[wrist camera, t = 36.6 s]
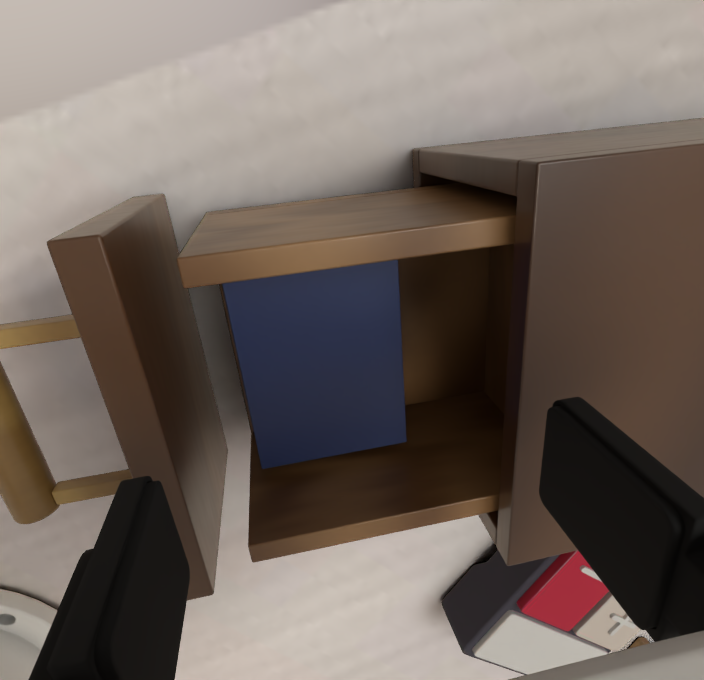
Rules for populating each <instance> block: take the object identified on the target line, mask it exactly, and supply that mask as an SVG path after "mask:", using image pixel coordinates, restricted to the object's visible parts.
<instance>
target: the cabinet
mask: <svg viewBox="0 0 704 680" xmlns="http://www.w3.org/2000/svg"><path fill="white" fill-rule="evenodd" d="M412 152H413V185H414V188H417V187H426V186H435V185H443V184H452V183H464V184H468V185H472V186H476V187H480V188H484V189H488V190H492V191H496V192H500V193H504V194H508V195H512V196H516V197H517V208H516V225H515V241H514V258H513V275H512V292H511V309H510V325H509V342H508V359H507V376H506V393H505V409H504V426H503V443H502V460H501V476H500V493H499V510H498V511H493V512H488V513H484V514H479V517H480V519H481V520H482V522H483V524H484V526H485V527H486V529H487V531H488V533H489V534H490V536H491V538H492V540H493V541H494V543H495V544H496V547H497V549H498V551H499V552H500V554H501V556H502V558H503V559H504V561H505V563H506V565H507V566H511V565H516V564H520V563H525V562H529V561H533V560H538V559H542V558H546V557H551V556H555V555H559V554H564V553H568V552H572V551H577V550H578V549H577V548H576V547H575V546H574V544H573V543H572V542H571V540H570V539H569V538H568V536H567V535H566V534H565V532H564V531H563V530H562V529H561V527H560V526H559V525H558V523H557V522H556V521H555V519H554V518H553V517H552V515H551V514H550V513H549V512H548V510H547V509H546V508H545V506H544V505H543V503H542V501H541V498H540V495H539V485H540V475H541V466H542V456H543V447H544V437H545V428H546V418H547V411H548V409H549V408H551V407H552V406H553V403H554V402H555V401H557V400H561V399H567V398H572V397H581V398H582V399H584V400H585V401H586V402H588V403H589V404H590V405H591V406H592V407H594V408H595V409H596V410H597V411H599V412H600V413H601V414H602V415H603V416H605V417H606V418H607V419H608V420H609V421H611V422H612V423H613V424H614V425H616V426H617V427H618V428H619V429H620V430H622V431H623V432H624V433H625V434H626V435H628V436H629V437H630V438H631V439H633V440H634V441H635V442H636V443H637V444H639V445H640V446H641V447H642V448H643V449H645V450H646V451H647V452H648V453H650V454H651V455H652V456H653V457H654V458H656V459H657V460H658V461H659V462H661V463H662V464H663V465H664V466H665V467H667V468H668V469H669V470H670V471H671V472H673V473H674V474H675V475H676V476H678V477H679V478H680V479H681V480H682V481H684V482H685V483H686V484H687V485H688V486H690V487H691V488H692V489H693V490H695V491H696V492H697V493H698V494H699V495H701V496H702V497H703V498H704V118H698V119H689V120H679V121H670V122H660V123H651V124H641V125H632V126H622V127H613V128H603V129H594V130H584V131H575V132H565V133H556V134H547V135H537V136H528V137H518V138H509V139H499V140H490V141H480V142H471V143H461V144H452V145H442V146H433V147H423V148H414V149H413V151H412Z"/></svg>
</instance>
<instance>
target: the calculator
mask: <svg viewBox="0 0 704 680" xmlns="http://www.w3.org/2000/svg"><path fill="white" fill-rule="evenodd" d="M442 606H443V609H444V611H445V613H446V616H447V618H448V620H449V622H450V625H451V627H452V629H453V632H454V634H455V636H456V638H457V641H458V643H459V645H460V647H461V650H462V652H463V653H464V654H466V655H469V656H471V657H474V658H477V659H480V660H483V661H486V662H489V663H492V664H495V665H498V666H500V667H503V668H506V669H509V670H512V671H515V672H518V673H521V674H524V675H528V674H532V673H536V672H540V671H544V670H547V669H551V668H555V667H559V666H563V665H567V664H571V663H575V662H579V661H583V660H586V659H590V658H594V657H598V656H602V655H606V654H609V652H610V651H611V650H612V651H615V652H617V651H619V650H621V649H622V648H623V647H624V646H625V645H626V644H627V643H628V642H629V641H630V640H631V639H632V638H633V637H634V636H635V635H636V634H637V633H638V632H639V631H640V630H641V629H640V628H638V627H637V626H636V625H635V624H634V623H633V622H632V620H631V619H630V618H629V616H628V615H627V614H626V612H625V611H624V610H623V608H622V607H621V606H620V605H619V603H618V602H617V601H616V599H615V598H614V597H613V595H612V594H611V593H610V591H609V590H608V589H607V587H606V586H605V585H604V584H603V582H602V581H601V580H600V578H599V577H598V576H597V574H596V573H595V572H594V570H593V569H592V568H591V567H590V565H589V564H588V563H587V561H586V560H585V559H584V557H583V556H582V555H581V553H580V552H579V551H578V550H577V551H572V552H568V553H564V554H559V555H555V556H551V557H546V558H542V559H538V560H533V561H529V562H525V563H520V564H516V565H511V566H507V565H506V563H505V561H504V559H503V558H502V556H501V554H500V552H499V551H498V550H497V551H496V552H495V553H494V555H493V556H492V557H491V558H490V559H489V560H488V561H487V562H484V563H480V564H475V565H473V566H472V567H471V568H470V569H469V571H468V572H467V573H466V574H465V575H464V576H463V577H462V578H461V579H460V581H459V582H458V583H457V584H456V585H455V586H454V587H453V588H452V590H451V591H450V592H449V593H448V594H447V595H446V596H445V597H444V599H443V600H442Z"/></svg>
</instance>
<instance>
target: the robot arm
mask: <svg viewBox="0 0 704 680" xmlns="http://www.w3.org/2000/svg"><path fill="white" fill-rule="evenodd" d="M539 495H540V498H541V501H542V503H543V505H544V506H545V508H546V509H547V510H548V512H549V513H550V514H551V515H552V517H553V518H554V519H555V521H556V522H557V523H558V525H559V526H560V527H561V529H562V530H563V531H564V532H565V534H566V535H567V536H568V538H569V539H570V540H571V542H572V543H573V544H574V546H575V547H576V548H577V549H578V551H579V552H580V553H581V555H582V556H583V557H584V559H585V560H586V561H587V563H588V564H589V565H590V567H591V568H592V569H593V570H594V572H595V573H596V574H597V576H598V577H599V578H600V580H601V581H602V582H603V584H604V585H605V586H606V587H607V589H608V590H609V591H610V593H611V594H612V595H613V597H614V598H615V599H616V601H617V602H618V603H619V605H620V606H621V607H622V608H623V610H624V611H625V612H626V614H627V615H628V616H629V618H630V619H631V620H632V622H633V623H634V624H635V625H636V626H637V627H638V628H640V629H642V630H646V631H647V632H648V634H649V635H650V636H651V637H652V639H653V640H654V641H655V642H653V643H649V644H645V645H641V646H637V647H633V648H629V649H626V650H622V651H618V652H614V653H610V654H606V655H602V656H598V657H594V658H590V659H586V660H583V661H579V662H575V663H571V664H567V665H563V666H559V667H555V668H551V669H547V670H544V671H540V672H536V673H532V674H528V675H524V676H521V677H517V678H513V679H509V680H704V498H703V497H702V496H701V495H699V494H698V493H697V492H696V491H695V490H693V489H692V488H691V487H690V486H688V485H687V484H686V483H685V482H684V481H682V480H681V479H680V478H679V477H678V476H676V475H675V474H674V473H673V472H671V471H670V470H669V469H668V468H667V467H665V466H664V465H663V464H662V463H661V462H659V461H658V460H657V459H656V458H654V457H653V456H652V455H651V454H650V453H648V452H647V451H646V450H645V449H643V448H642V447H641V446H640V445H639V444H637V443H636V442H635V441H634V440H633V439H631V438H630V437H629V436H628V435H626V434H625V433H624V432H623V431H622V430H620V429H619V428H618V427H617V426H616V425H614V424H613V423H612V422H611V421H609V420H608V419H607V418H606V417H605V416H603V415H602V414H601V413H600V412H599V411H597V410H596V409H595V408H594V407H592V406H591V405H590V404H589V403H588V402H586V401H585V400H584V399H582V398H581V397H572V398H567V399H561V400H557V401H555V402H554V403H553V406H552V407H551V408H549V409H548V411H547V418H546V428H545V437H544V447H543V456H542V466H541V475H540V485H539ZM189 582H190V569H189V564H188V560H187V557H186V554H185V551H184V548H183V545H182V542H181V539H180V536H179V533H178V530H177V528H176V525H175V522H174V519H173V516H172V513H171V510H170V507H169V504H168V501H167V498H166V495H165V492H164V489H163V486H162V483H161V482H160V481H159V480H158V481H153V480H152V478H151V477H150V476H143V477H138V478H132V479H127V480H123V481H121V482H120V484H119V486H118V489H117V491H116V494H115V496H114V499H113V501H112V504H111V506H110V509H109V511H108V514H107V516H106V519H105V521H104V524H103V526H102V529H101V531H100V534H99V536H98V539H97V541H96V544H95V546H94V549H90V550H86V551H85V552H84V553H83V554H82V556H81V557H80V559H79V561H78V563H77V566H76V568H75V571H74V573H73V575H72V578H71V580H70V582H69V585H68V587H67V590H66V592H65V594H64V597H63V599H62V601H61V604H60V606H59V608H58V611H57V610H56V609H54V608H52V607H50V606H49V605H47V604H45V603H43V602H41V601H39V600H37V599H34V598H31V597H28V596H25V595H22V594H20V593H17V592H13V591H8V590H3V589H0V680H174V679H175V673H176V666H177V660H178V653H179V647H180V640H181V634H182V627H183V621H184V614H185V608H186V601H187V595H188V589H189Z"/></svg>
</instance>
